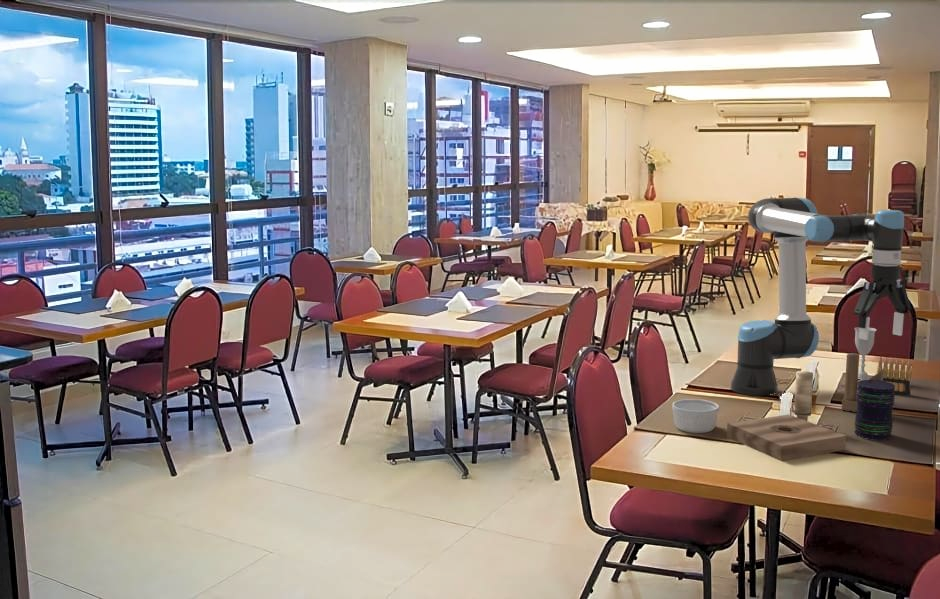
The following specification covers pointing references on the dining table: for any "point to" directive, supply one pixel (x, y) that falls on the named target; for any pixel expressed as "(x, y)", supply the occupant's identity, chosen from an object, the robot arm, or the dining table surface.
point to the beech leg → (803, 394)
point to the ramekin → (695, 415)
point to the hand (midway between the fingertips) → (880, 337)
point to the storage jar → (874, 409)
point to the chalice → (864, 350)
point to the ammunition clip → (897, 375)
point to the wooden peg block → (854, 382)
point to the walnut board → (786, 437)
